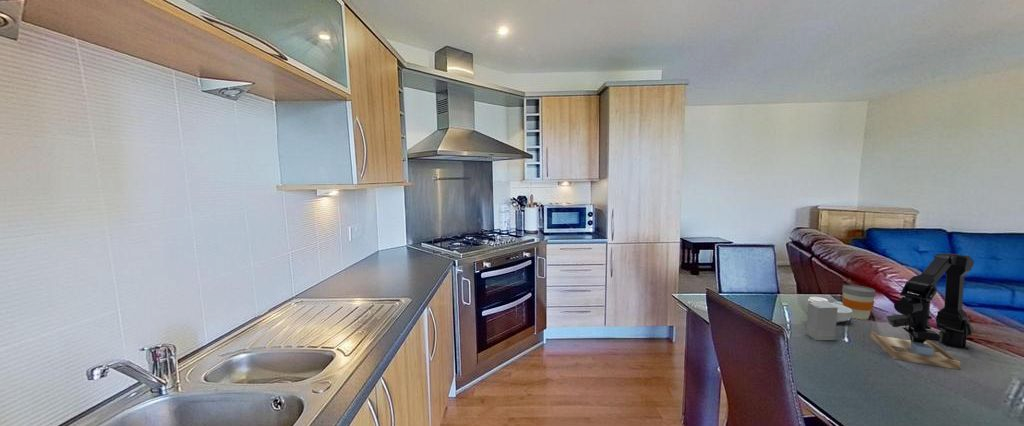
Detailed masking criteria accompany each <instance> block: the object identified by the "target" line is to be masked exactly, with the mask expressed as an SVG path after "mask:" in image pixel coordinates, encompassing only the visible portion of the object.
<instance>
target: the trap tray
mask: <svg viewBox="0 0 1024 426" xmlns="http://www.w3.org/2000/svg"><path fill="white" fill-rule="evenodd" d="M870 338H871V340H872V341H874V342H875V343H876V344H877V345H878V346H879V347H880V348H881V349H882V350H883V351H884V352H885V353H886V354H888V355H889V356H890V357H891V358H892V359H893V360H898V361H906V362H910V363H918V364H924V365H929V366H936V367H941V368H942V367H943V368H947V369H954V370H961V361H960V360H959V359H957V358H956V357H954V355H951V354H950V353H949V352H948V351H945V350H944V349H943V348H942V347H940V346H939V345H937V344H936V343H934V341H932V340H926V341H925V342H924V343H925V344H928V345H930V346H931V347H932V348H934V352H933V357H932V356H925V355H919V354H912V353H911V352H910V351H911V340H910V339H905V338H898V337H891V336H883V335H879V334H877V332H875V331H874V330H873V331H870Z"/></svg>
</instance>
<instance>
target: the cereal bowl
mask: <svg viewBox="0 0 1024 426" xmlns="http://www.w3.org/2000/svg"><path fill="white" fill-rule="evenodd" d="M829 303H830V304H832V305H834V306H836V307H837V308H838V310H837V322H836V324H837V323H840V322H845V321H849V320H850V319H851V318H852V317H851V316H852V312H853V311H852V310H851V309H850V308H848V307H846V306H844V305H843V304H839V303H835V302H829Z"/></svg>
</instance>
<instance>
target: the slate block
mask: <svg viewBox="0 0 1024 426" xmlns="http://www.w3.org/2000/svg"><path fill="white" fill-rule="evenodd" d="M910 352H911V353H912V354H919V355H925V356H932V357H933V352H934V348H932V347H931V346H930V345H928V344H925V343H918V342H911V351H910Z"/></svg>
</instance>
